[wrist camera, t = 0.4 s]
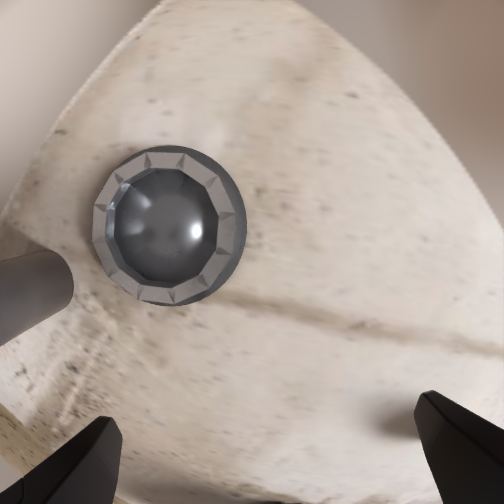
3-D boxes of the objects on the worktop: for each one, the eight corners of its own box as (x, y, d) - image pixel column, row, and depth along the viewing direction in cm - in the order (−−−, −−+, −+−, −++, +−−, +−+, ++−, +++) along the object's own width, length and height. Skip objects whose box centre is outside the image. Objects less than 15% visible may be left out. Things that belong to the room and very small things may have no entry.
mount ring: (239, 312, 21) (238, 321, 20) (95, 294, 21) (83, 301, 19) (254, 151, 20) (254, 146, 18) (102, 146, 20) (91, 142, 18)
